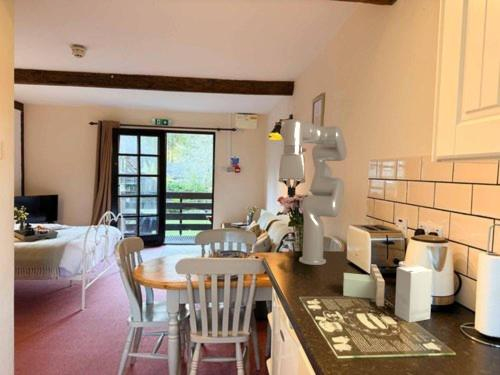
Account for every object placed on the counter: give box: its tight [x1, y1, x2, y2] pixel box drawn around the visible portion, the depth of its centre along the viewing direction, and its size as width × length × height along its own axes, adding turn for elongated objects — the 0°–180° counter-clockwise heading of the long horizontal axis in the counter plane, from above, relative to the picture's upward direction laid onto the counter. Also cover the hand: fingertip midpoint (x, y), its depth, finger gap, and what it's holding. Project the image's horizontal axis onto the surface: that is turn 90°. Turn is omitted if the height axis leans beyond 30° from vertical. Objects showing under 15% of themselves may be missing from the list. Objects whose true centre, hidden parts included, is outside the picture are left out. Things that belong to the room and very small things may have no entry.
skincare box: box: [394, 264, 434, 324], centre depth 103 cm, size 8×6×15 cm
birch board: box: [369, 263, 386, 307], centre depth 123 cm, size 22×2×8 cm, turn 167°
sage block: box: [342, 272, 375, 300], centre depth 124 cm, size 8×10×6 cm
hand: (291, 197), depth 140 cm, fingers closed
